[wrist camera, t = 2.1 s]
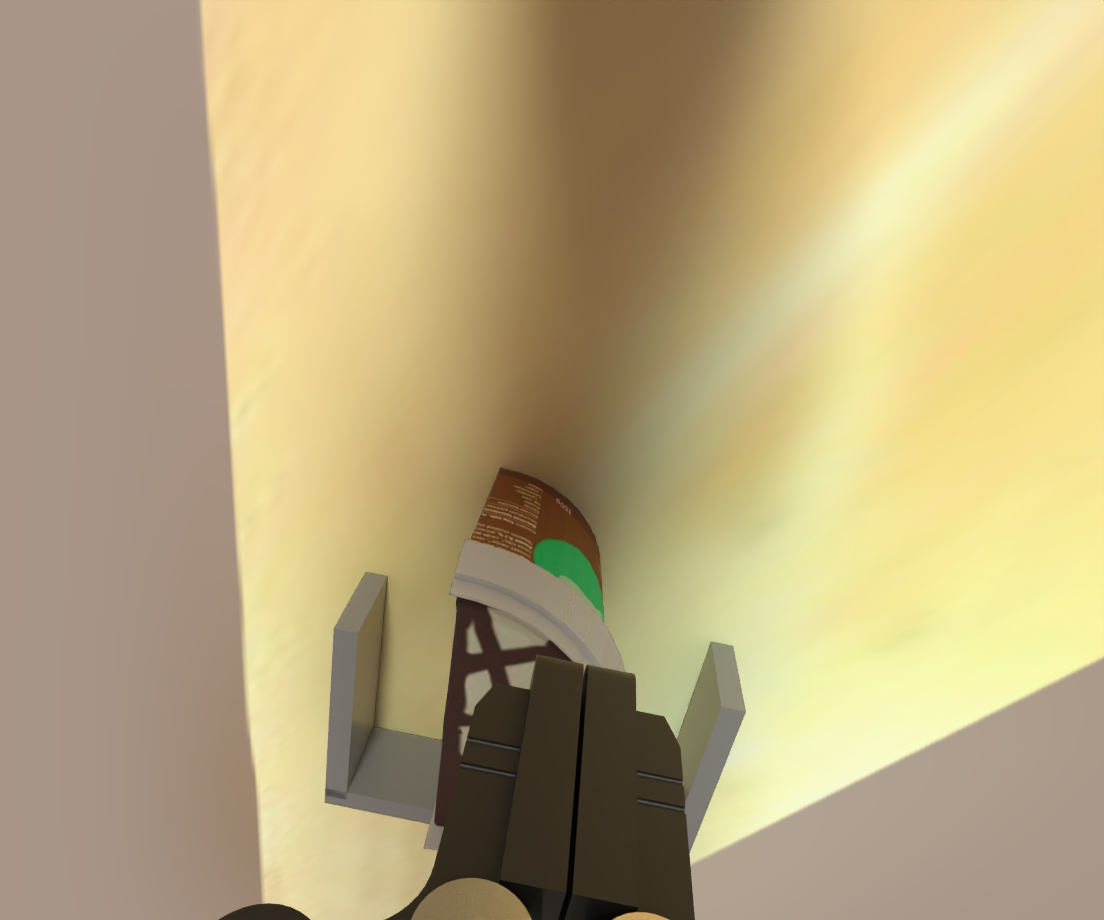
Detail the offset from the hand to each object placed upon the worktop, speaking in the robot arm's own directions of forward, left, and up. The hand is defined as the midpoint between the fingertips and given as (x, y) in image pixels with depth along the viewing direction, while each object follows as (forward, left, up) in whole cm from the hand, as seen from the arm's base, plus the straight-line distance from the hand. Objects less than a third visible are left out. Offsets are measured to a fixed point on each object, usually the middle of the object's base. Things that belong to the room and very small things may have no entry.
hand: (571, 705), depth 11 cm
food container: (+10, 0, -19) cm, 21 cm away
